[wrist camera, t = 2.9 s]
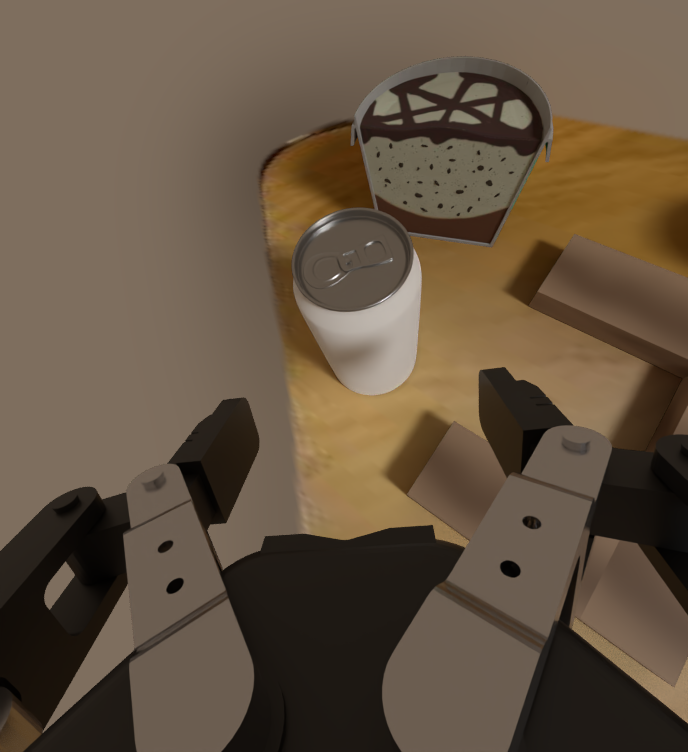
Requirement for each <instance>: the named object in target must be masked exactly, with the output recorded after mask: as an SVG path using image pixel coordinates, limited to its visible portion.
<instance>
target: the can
mask: <svg viewBox="0 0 688 752" xmlns="http://www.w3.org/2000/svg"><path fill="white" fill-rule="evenodd" d="M292 274H293V291H294V296H295V299H296V302H297V305H298V307H299V309H300V311H301V313H302V315H303V317H304V319H305V321H306V323H307V325H308V327H309V328H310V330H311V332H312V334H313V336H314V338H315V339H316V341H317V343H318V345H319V347H320V348H321V350H322V352H323V354H324V356H325V357H326V359H327V361H328V363H329V365H330V366H331V368H332V370H333V371H334V373H335V375H336V376H337V378H338V379H339V381H340V382H341V383H342V384H343V385H344V386H346V387H347V388H348V389H350V390H352V391H354V392H357V393H360V394H364V395H379V394H384V393H387V392H390V391H392V390H394V389H396V388H397V387H399V386H400V385H401V384H402V383H403V382H404V381H405V380H406V379H407V378H408V377H409V375H410V374H411V372H412V370H413V367H414V364H415V360H416V353H417V341H418V328H419V314H420V299H421V267H420V262H419V259H418V256H417V254H416V252H415V250H414V248H413V244H412V240H411V238H410V236H409V234H408V232H407V230H406V229H405V227H404V226H403V225H402V224H401V223H400V222H399V221H398V220H396V219H395V218H394V217H392V216H391V215H389V214H387V213H384V212H382V211H379V210H375V209H370V208H348V209H343V210H339V211H336V212H333V213H331V214H328V215H326V216H324V217H323V218H321V219H319V220H318V221H316V222H315V223H314V224H313V225H311V226H310V227H309V228H308V229H307V230H306V231H305V232H304V234H303V235H302V236H301V238H300V239H299V241H298V243H297V245H296V247H295V250H294V253H293V257H292Z"/></svg>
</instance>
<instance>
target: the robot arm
mask: <svg viewBox="0 0 688 752" xmlns="http://www.w3.org/2000/svg"><path fill="white" fill-rule="evenodd" d="M479 418H480V423H481V427H482V430H483V432H484V434H485V436H486V438H487V440H488V442H489V444H490V446H491V448H492V450H493V452H494V454H495V456H496V458H497V460H498V462H499V464H500V466H501V468H502V470H503V472H504V474H505V476H506V478H507V480H506V481H505V483H504V485H503V486H502V488H501V490H500V491H499V493H498V495H497V496H496V498H495V500H494V501H493V503H492V505H491V506H490V508H489V510H488V511H487V513H486V515H485V516H484V518H483V520H482V521H481V523H480V525H479V526H478V528H477V530H476V531H475V533H474V535H473V536H472V538H471V540H470V541H469V543H468V545H467V546H466V548H465V547H462V546H459V545H457V544H454V543H450V542H447V541H443V540H437V539H435V534H434V529H433V525H428V526H413V527H399V528H388V529H385V530H381V531H378V532H374V533H371V534H367V535H364V536H360V537H357V538H354V539H350V540H338V539H332V538H327V537H321V536H315V535H309V534H295V535H279V536H266V537H265V539H264V541H263V545H262V548H261V551H258V552H255V553H253V554H250V555H248V556H245V557H244V558H242V559H240V560H238V561H236V562H235V563H233V564H231V565H230V566H228V567H227V568H225V569H224V570H223V568H222V565H221V563H220V560H219V558H218V556H217V553H216V551H215V548H214V546H213V543H212V541H211V538H210V536H209V534H208V531H207V530H208V528H209V526H210V524H221V523H226V522H227V520H228V518H229V516H230V513H231V511H232V509H233V507H234V504H235V502H236V500H237V498H238V496H239V493H240V491H241V488H242V486H243V484H244V482H245V480H246V478H247V475H248V473H249V471H250V468H251V466H252V464H253V462H254V460H255V457H256V455H257V453H258V450H259V435H258V432H257V428H256V426H255V422H254V419H253V416H252V412H251V409H250V406H249V403H248V401H247V400H246V398H236V399H227V400H223V401H222V402H221V403H220V404H219V406H218V407H217V408H216V410H215V411H214V412H213V414H212V415H209V416H208V417H207V418H205V419H204V420H203V421H201V422H200V423H199V424H198V425H197V426H196V427H195V429H194V430H193V431H192V433H191V435H189V436H188V438H187V439H186V442H184V443H183V444H182V445H181V447H180V448H179V449H178V451H177V452H176V453H175V454H174V456H173V457H172V458H171V460H170V461H169V462H168V463H167V464H163V465H159V466H155V467H153V468H150V469H148V470H146V471H144V472H143V473H141V474H140V475H138V476H137V477H136V478H135V479H134V480H133V481H132V482H131V483H130V484H129V486H128V488H127V490H126V493H122V494H119V495H116V496H112V497H109V498H106V499H101V497H100V496H99V494H98V492H97V491H96V489H95V488H93V487H82V488H78V489H75V490H72V491H70V492H67V493H65V494H63V495H61V496H60V497H58V498H56V499H54V500H53V501H52V502H50V503H49V504H48V505H46V506H45V507H44V508H43V509H42V510H41V511H40V512H39V513H38V514H37V515H36V516H35V517H34V518H33V519H32V520H31V521H30V522H29V523H28V524H27V525H26V526H25V527H24V528H23V529H22V530H21V531H20V532H19V533H18V534H17V535H16V536H15V537H14V538H13V539H12V540H11V541H10V542H9V543H8V544H7V545H6V546H5V547H4V548H3V549H2V550H1V551H0V752H688V723H687V722H685V721H684V720H683V719H682V718H680V717H679V716H678V715H677V714H675V713H674V712H673V711H672V710H671V709H669V708H668V707H667V706H666V705H664V704H663V703H662V702H661V701H659V700H658V699H657V698H656V697H655V696H653V695H652V694H651V693H650V692H648V691H647V690H646V689H645V688H643V687H642V686H641V685H640V684H639V683H637V682H636V681H635V680H634V679H632V678H631V677H630V676H629V675H627V674H626V673H625V672H624V671H623V670H621V669H620V668H619V667H618V666H616V665H615V664H614V663H613V662H611V661H610V660H609V659H608V658H606V657H605V656H604V655H603V654H602V653H600V652H599V651H598V650H597V649H595V648H594V647H593V646H592V645H590V644H589V643H588V642H587V641H586V640H584V639H583V638H582V637H581V636H579V635H578V634H577V633H576V632H574V631H573V630H572V626H573V622H574V618H575V613H576V608H577V604H578V600H579V596H580V592H581V588H582V585H583V581H584V578H585V574H586V571H587V567H588V564H589V560H590V557H591V553H592V550H593V546H594V543H595V539H596V536H600V537H605V538H611V539H616V540H622V541H627V542H632V543H637V544H638V546H639V547H640V548H641V550H642V551H643V553H644V554H645V556H646V557H647V558H648V560H649V561H650V563H651V564H652V565H653V567H654V568H655V570H656V571H657V573H658V574H659V575H660V577H661V578H662V580H663V581H664V582H665V584H666V585H667V587H668V588H669V589H670V591H671V592H672V594H673V595H674V597H675V598H676V599H677V601H678V602H679V604H680V605H681V606H682V608H683V609H684V611H685V612H686V614H687V615H688V435H684V434H675V435H668V436H664V437H662V438H660V439H659V440H658V441H657V442H656V445H655V449H654V452H645V451H634V450H624V449H617V448H612V446H611V443H610V441H609V440H608V439H607V438H606V437H604V436H603V435H602V434H600V433H598V432H596V431H594V430H591V429H588V428H584V427H579V426H574V425H573V424H572V423H571V422H570V421H569V420H568V419H567V418H566V417H565V416H564V415H563V414H562V412H561V411H560V410H559V409H558V408H557V407H556V406H555V405H553V404H552V402H551V401H550V399H549V398H548V397H546V395H545V394H544V393H543V392H542V391H541V390H540V389H539V387H537V386H535V385H533V384H531V383H529V382H527V381H525V380H519V381H516V380H515V379H514V378H513V376H512V375H511V374H510V373H509V372H508V370H507V369H506V368H504V367H502V368H494V369H485V370H480V372H479ZM65 561H66V562H67V564H68V565H69V567H70V568H71V569H72V571H73V572H74V574H75V576H74V578H73V579H72V580H71V582H70V583H69V585H68V586H67V587H66V589H65V590H64V591H63V593H62V594H61V595H60V597H59V598H58V600H57V601H56V602H55V604H54V605H53V606H52V608H51V609H50V610H49V609H48V608H47V607H46V605H45V602H44V594H45V590H46V587H47V585H48V583H49V582H50V580H51V579H52V578H53V576H54V575H55V574H56V573H57V571H58V570H59V569H60V568H61V566H62V565H63V564H64V562H65ZM127 584H128V588H129V598H130V608H131V618H132V628H133V638H134V651H133V652H132V653H131V654H130V655H128V656H127V657H126V658H125V659H124V660H123V661H122V662H121V663H120V664H119V665H117V666H116V667H115V668H114V669H113V670H112V671H111V672H110V673H109V674H108V675H106V676H105V677H104V678H103V679H102V680H101V681H100V682H99V683H98V684H97V685H95V686H94V687H93V688H92V689H91V690H90V691H89V692H88V693H87V694H86V695H84V696H83V697H82V698H81V699H80V700H79V701H78V702H77V703H76V704H74V705H73V706H72V707H71V708H70V709H69V710H68V711H67V712H66V713H65V714H64V715H62V716H61V717H60V718H59V719H58V720H57V721H56V722H55V723H54V724H52V725H51V726H50V727H49V728H48V729H47V730H46V731H45V732H44V733H43V730H44V728H45V727H46V725H47V723H48V721H49V719H50V718H51V716H52V714H53V712H54V711H55V709H56V707H57V705H58V704H59V702H60V700H61V699H62V697H63V695H64V694H65V692H66V690H67V688H68V687H69V685H70V683H71V681H72V680H73V678H74V676H75V674H76V672H77V671H78V669H79V667H80V666H81V664H82V662H83V661H84V659H85V657H86V655H87V654H88V652H89V650H90V648H91V647H92V645H93V643H94V641H95V640H96V638H97V636H98V635H99V633H100V631H101V629H102V628H103V626H104V624H105V622H106V621H107V619H108V617H109V615H110V614H111V612H112V610H113V609H114V607H115V605H116V603H117V602H118V600H119V598H120V597H121V595H122V593H123V591H124V590H125V588H126V586H127Z"/></svg>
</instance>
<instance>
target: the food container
mask: <svg viewBox="0 0 688 752" xmlns="http://www.w3.org/2000/svg"><path fill="white" fill-rule="evenodd" d="M354 119H355V120H354V122H353V124H352V129H351V146H353V145H354V143H355V141H356V139H357V137H358V139H359V144H360V148H361V152H362V157H363V161H364V165H365V169H366V174H367V178H368V182H369V187H370V191H371V195H372V199H373V204H374V208H375V210H379V211H382V212H384V213H387V214H389V215H391V216H392V217H394V218H395V219H396V220H398V221H399V222H400V223H401V224H402V225H403V226H404V227H405V229H406V230H407V232H408V234H409V236H416V237H423V238H430V239H437V240H444V241H451V242H458V243H465V244H472V245H479V246H486V247H493V245H494V243H495V241H496V239H497V237H498V235H499V233H500V231H501V229H502V227H503V225H504V223H505V221H506V219H507V217H508V215H509V213H510V211H511V210H512V208H513V206H514V204H515V202H516V200H517V198H518V196H519V194H520V192H521V190H522V188H523V186H524V184H525V182H526V180H527V178H528V176H529V174H530V173H531V171H532V169H533V167H534V165H535V163H536V161H537V159H538V157H539V155H540V153H541V151H542V149H543V147H544V145H546V162H549V157H550V151H551V145H552V138H553V124H552V111H551V105H550V103H549V100H548V98H547V96H546V94H545V92H544V91H543V90H542V88H541V87H540V85H539V84H537V82H535V81H534V80H533V79H532V78H531V77H530V76H529V75H527V74H526V73H524V72H523V71H521V70H519V69H517V68H515V67H513V66H511V65H509V64H506V63H503V62H500V61H497V60H492V59H487V58H481V57H468V56H463V57H462V56H461V57H447V58H439V59H434V60H430V61H426V62H422V63H419V64H417V65H413V66H410V67H408V68H406V69H404V70H401V71H399V72H397V73H395V74H394V75H392V76H390V77H389V78H387V79H386V80H384V81H383V82H382V83H380V84H379V85H378V86H377V87H375V88H374V89H373V90H372V91H371V92H370V93H369V94H368V95H367V96H366V97H365V99H364V100H363V102H362V103H361V104H360V106H359V108H358V109H357V111H356V113H355V115H354Z"/></svg>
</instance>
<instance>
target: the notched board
mask: <svg viewBox="0 0 688 752" xmlns="http://www.w3.org/2000/svg"><path fill="white" fill-rule="evenodd" d="M529 307H531V308H534V309H536V310H538V311H540V312H542V313H544V314H546V315H549V316H551V317H553V318H555V319H557V320H559V321H561V322H563V323H566V324H568V325H570V326H572V327H574V328H576V329H578V330H581V331H583V332H585V333H587V334H589V335H591V336H593V337H595V338H598V339H600V340H602V341H604V342H606V343H608V344H610V345H612V346H615V347H617V348H619V349H621V350H623V351H625V352H627V353H630V354H632V355H634V356H636V357H638V358H640V359H642V360H644V361H647V362H649V363H651V364H653V365H655V366H657V367H659V368H662V369H664V370H666V371H668V372H670V373H672V374H674V375H676V376H679V377H681V378H683V379H682V381H681V383H680V385H679V387H678V389H677V391H676V393H675V395H674V397H673V399H672V401H671V403H670V405H669V407H668V408H667V410H666V412H665V414H664V416H663V418H662V420H661V422H660V424H659V426H658V428H657V430H656V432H655V434H654V436H653V438H652V439H651V441H650V443H649V445H648V447H647V449H646V451H645V452H654V449H655V445H656V442H657V441H658V440H659V439H660V438H662V437H664V436H668V435H675V434H684V435H688V278H687V277H684V276H682V275H679V274H676V273H674V272H671V271H669V270H666V269H664V268H661V267H658V266H656V265H653V264H651V263H648V262H645V261H643V260H640V259H638V258H635V257H633V256H630V255H627V254H625V253H622V252H620V251H617V250H614V249H612V248H609V247H607V246H604V245H602V244H599V243H596V242H594V241H591V240H589V239H586V238H583V237H581V236H578V235H576V234H574V235H573V237H572V239H571V240H570V242H569V243H568V245H567V246H566V248H565V249H564V251H563V252H562V254H561V256H560V257H559V259H558V260H557V262H556V263H555V265H554V266H553V268H552V270H551V271H550V273H549V274H548V276H547V277H546V279H545V280H544V282H543V284H542V285H541V287H540V288H539V290H538V291H537V293H536V295H535V296H534V298H533V299H532V301H531V303H530V304H529ZM506 480H507V478H506V476H505V474H504V472H503V470H502V468H501V466H500V464H499V462H498V460H497V458H496V456H495V454H494V452H493V450H492V448H491V446H490V444H489V442H487V441H486V440H484V439H483V438H481V437H479V436H478V435H476V434H474V433H473V432H471V431H470V430H468V429H466V428H465V427H463V426H461V425H460V424H458V423H457V422H455V421H454V422H453V423H452V425H451V427H450V428H449V430H448V431H447V433H446V434H445V436H444V437H443V439H442V441H441V442H440V444H439V445H438V447H437V448H436V450H435V451H434V453H433V455H432V456H431V458H430V459H429V461H428V462H427V464H426V465H425V467H424V469H423V470H422V472H421V473H420V475H419V476H418V478H417V479H416V481H415V483H414V484H413V486H412V487H411V489H410V490H409V492H408V493H407V496H408V497H410V498H411V499H412V500H414V501H415V502H417V503H418V504H419V505H421V506H422V507H424V508H425V509H426V510H428V511H429V512H430V513H432V514H433V515H435V516H436V517H437V518H439V519H440V520H442V521H443V522H444V523H446V524H447V525H448V526H450V527H451V528H453V529H454V530H455V531H457V532H458V533H460V534H461V535H462V536H464V537H465V538H466V539H468V540H469V541H470V540H471V538H472V536H473V535H474V533H475V531H476V530H477V528H478V526H479V525H480V523H481V521H482V520H483V518H484V516H485V515H486V513H487V511H488V510H489V508H490V506H491V505H492V503H493V501H494V500H495V498H496V496H497V495H498V493H499V491H500V490H501V488H502V486H503V485H504V483H505V481H506ZM575 617H576V618H577V619H579V620H580V621H581V622H583V623H584V624H586V625H587V626H588V627H590V628H591V629H593V630H594V631H595V632H597V633H598V634H599V635H601V636H602V637H604V638H605V639H606V640H608V641H609V642H611V643H612V644H613V645H615V646H616V647H618V648H619V649H620V650H622V651H623V652H624V653H626V654H627V655H629V656H630V657H631V658H633V659H634V660H636V661H637V662H638V663H640V664H641V665H642V666H644V667H645V668H647V669H648V670H649V671H651V672H652V673H654V674H655V675H657V676H658V677H660V678H661V679H663V680H664V681H666V682H667V683H668V684H670V685H671V686H673V687H675V685H676V682H677V680H678V678H679V676H680V673H681V671H682V669H683V666H684V664H685V662H686V660H687V657H688V615H687V614H686V612H685V611H684V609H683V608H682V606H681V605H680V604H679V602H678V601H677V599H676V598H675V597H674V595H673V594H672V592H671V591H670V589H669V588H668V587H667V585H666V584H665V582H664V581H663V580H662V578H661V577H660V575H659V574H658V573H657V571H656V570H655V568H654V567H653V565H652V564H651V563H650V561H649V560H648V558H647V557H646V556H645V554H644V553H643V551H642V550H641V548H640V547H639V546H638V544H637V543H632V542H627V541H622V540H616V539H611V538H605V537H600V536H596V539H595V543H594V546H593V550H592V553H591V557H590V560H589V564H588V567H587V571H586V574H585V578H584V581H583V585H582V588H581V592H580V596H579V600H578V604H577V608H576V613H575Z"/></svg>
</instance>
